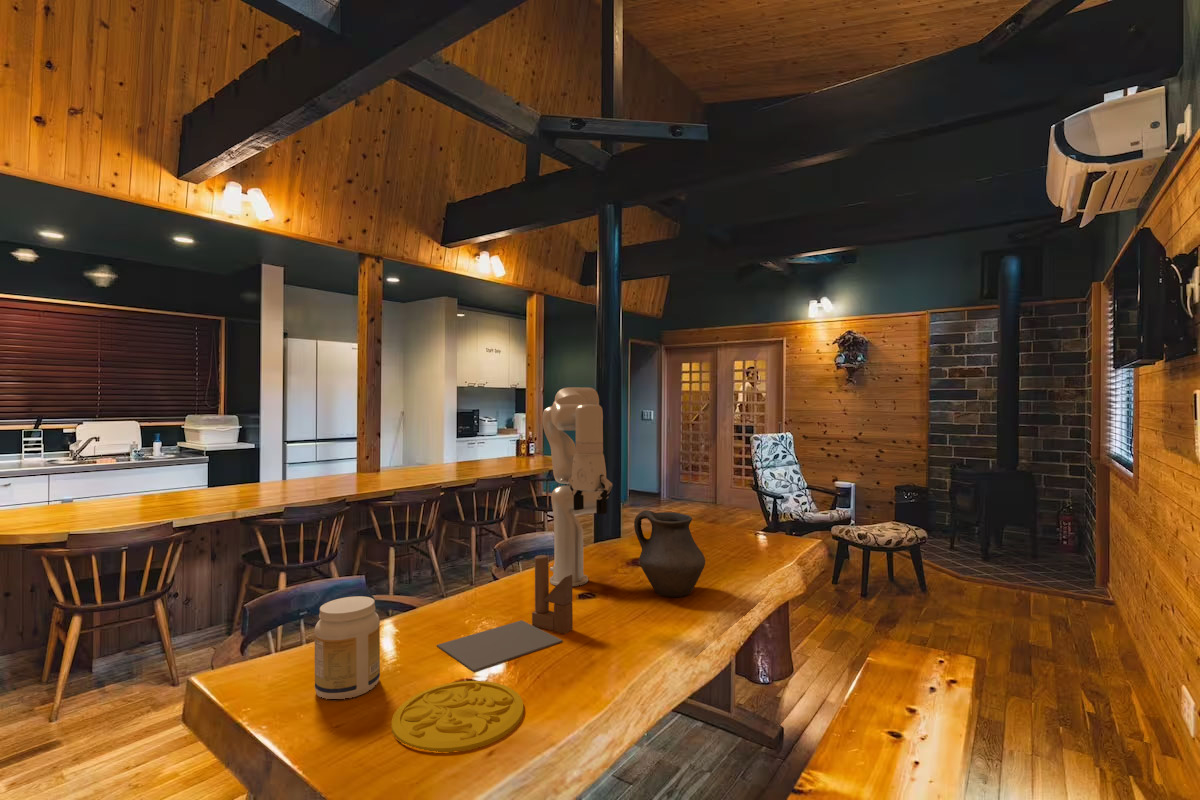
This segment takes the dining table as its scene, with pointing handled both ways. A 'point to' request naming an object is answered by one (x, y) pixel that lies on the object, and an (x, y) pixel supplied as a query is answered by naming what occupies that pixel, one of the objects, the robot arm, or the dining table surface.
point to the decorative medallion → (458, 716)
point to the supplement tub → (347, 648)
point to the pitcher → (669, 553)
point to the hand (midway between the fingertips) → (589, 511)
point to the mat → (498, 645)
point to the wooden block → (552, 600)
